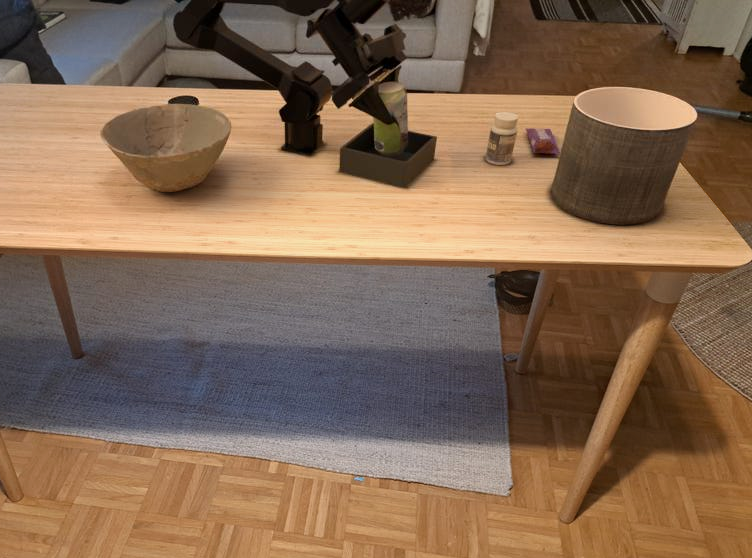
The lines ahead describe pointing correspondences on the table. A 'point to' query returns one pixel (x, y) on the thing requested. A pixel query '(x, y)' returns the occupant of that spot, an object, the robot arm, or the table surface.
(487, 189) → the table surface
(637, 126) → the planter
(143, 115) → the ceramic bowl
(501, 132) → the pill bottle
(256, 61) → the robot arm
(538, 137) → the snack package
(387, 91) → the beverage can
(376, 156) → the square storage tray
